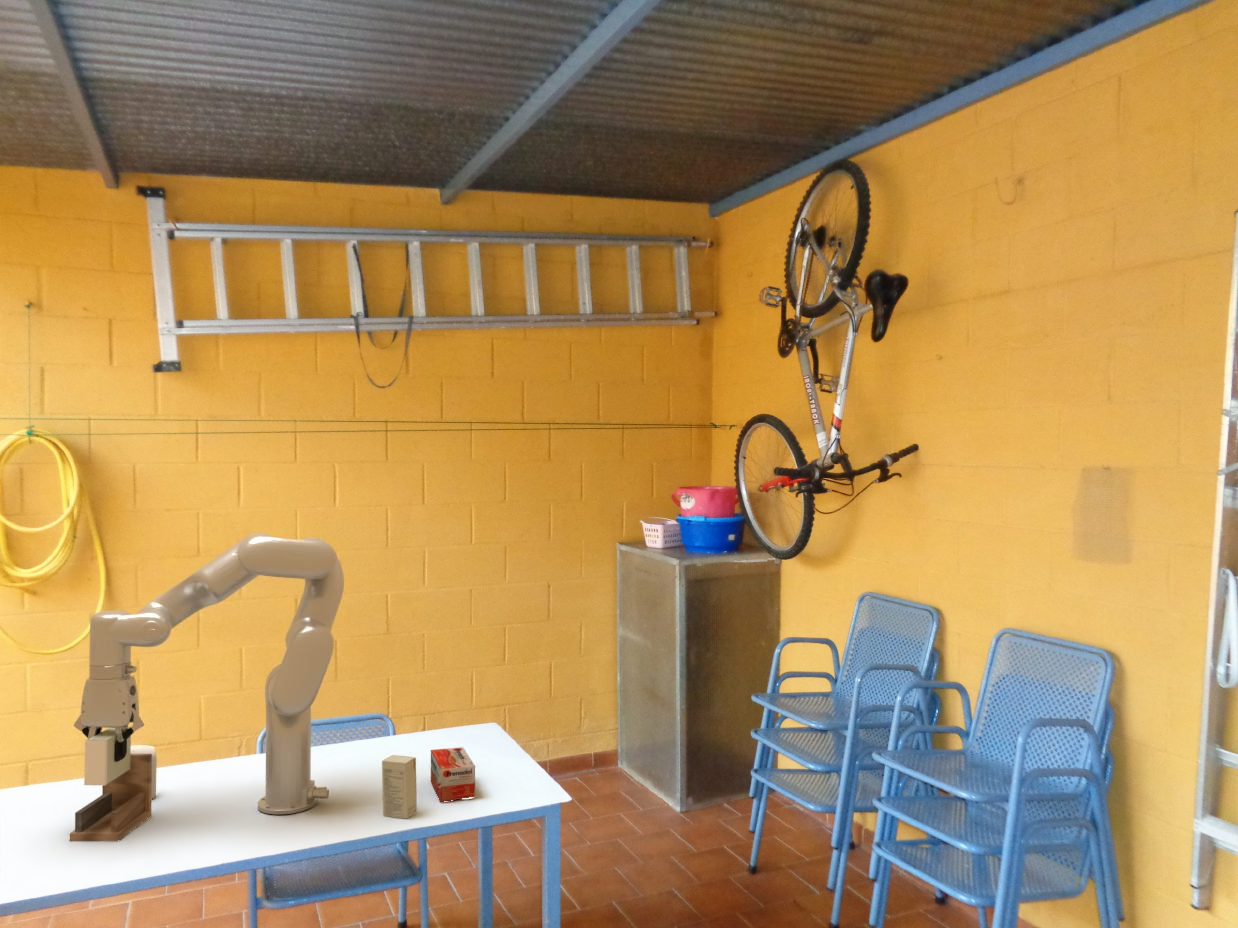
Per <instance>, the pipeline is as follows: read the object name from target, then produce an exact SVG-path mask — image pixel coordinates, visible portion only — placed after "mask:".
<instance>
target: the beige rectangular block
mask: <svg viewBox="0 0 1238 928" xmlns="http://www.w3.org/2000/svg"><path fill="white" fill-rule="evenodd" d="M130 727H131V726H128V728H130ZM131 739H132V735H131V736H130V737H129V738H128V739H127V754H126V755H125V758H123V759H122V760H120V761H118V762H115V761H114V754H115V743H116V742H117V736H116V730H115V728H107V729H105V730H102V732H101V733H99V734H97V735H95V736H93V737H91V738H90V739H88V738H87V739H85V740H84V778H83V779H84V781H83V782H84V784H83V785H84V786H102V785H103V786H105V785H106V784H108V783H109V782H111V781H112V780H114V779H115V778H117V777H119V776H120V775H122V774H123V773H125V772H127V771H128V770H130V755H131V746H132V745H131V744H132V742H131V741H132V740H131Z"/></svg>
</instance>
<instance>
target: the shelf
mask: <svg viewBox="0 0 1238 928" xmlns="http://www.w3.org/2000/svg"><path fill="white" fill-rule="evenodd" d="M101 786H102V788H101V790H102V793H101V795H100V796H99V797H97V798H95V799H94V800H92V801H91V802H89V803H88V804H86V805H85V806H83V807H82V808H80V809H79V810H77V811H76V812H74V830H73V831H70V833H69V842H119V841H118V840H120V841H121V840H123V839H124V838H125V837H126V835H127V834H128V833H129V832H130V831H132V830H133V829H134V828H135V827H137V826H138V827H140V826H141V825H142V824H143V823H145V822H146V821H147V820H148V819H147V818H149V817H150V816H151V817H152V799H151V792H152V754H131V755H130V770H128V771H127V772H125V773H123V774H122V775H120V776H119V777H117V778H115V779H114V780H112V781H111V782H109V783H108V784H106V785H105V786H103V785H101ZM151 817H150V818H151ZM150 818H149V819H150ZM146 819H147V820H146ZM145 820H146V821H145ZM144 821H145V822H144ZM142 822H143V823H142ZM141 823H142V824H141ZM140 824H141V825H140ZM139 825H140V826H139ZM138 827H137V828H138ZM134 830H135V829H134ZM134 830H133V831H134ZM133 831H132V832H133ZM129 834H130V833H129ZM129 834H128V835H129ZM128 835H127V836H128ZM124 836H125V837H124ZM123 837H124V838H123ZM122 838H123V839H122Z"/></svg>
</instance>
